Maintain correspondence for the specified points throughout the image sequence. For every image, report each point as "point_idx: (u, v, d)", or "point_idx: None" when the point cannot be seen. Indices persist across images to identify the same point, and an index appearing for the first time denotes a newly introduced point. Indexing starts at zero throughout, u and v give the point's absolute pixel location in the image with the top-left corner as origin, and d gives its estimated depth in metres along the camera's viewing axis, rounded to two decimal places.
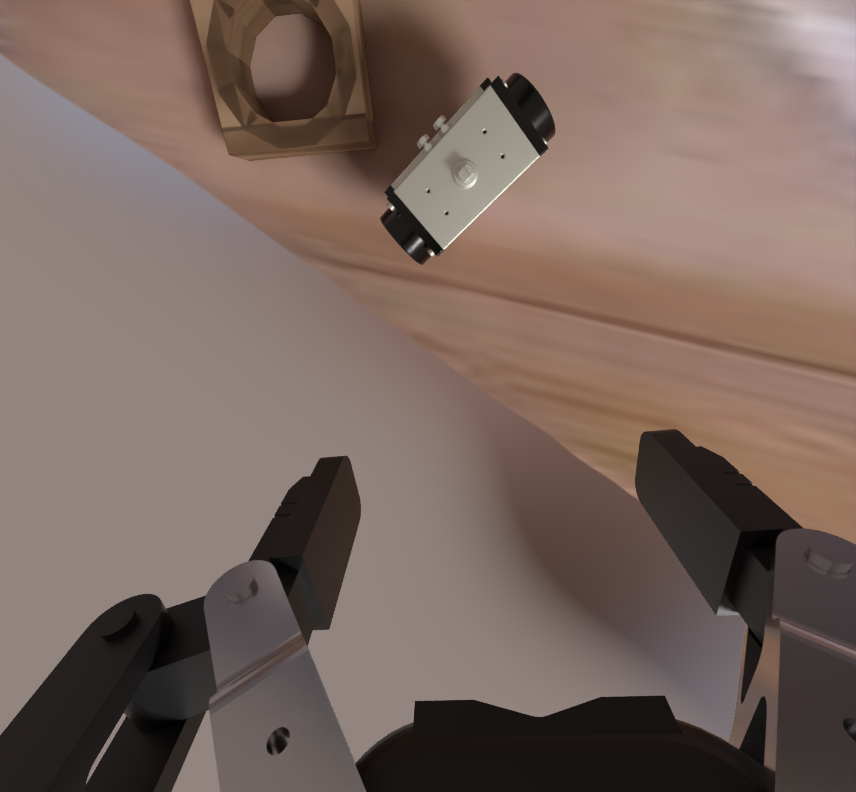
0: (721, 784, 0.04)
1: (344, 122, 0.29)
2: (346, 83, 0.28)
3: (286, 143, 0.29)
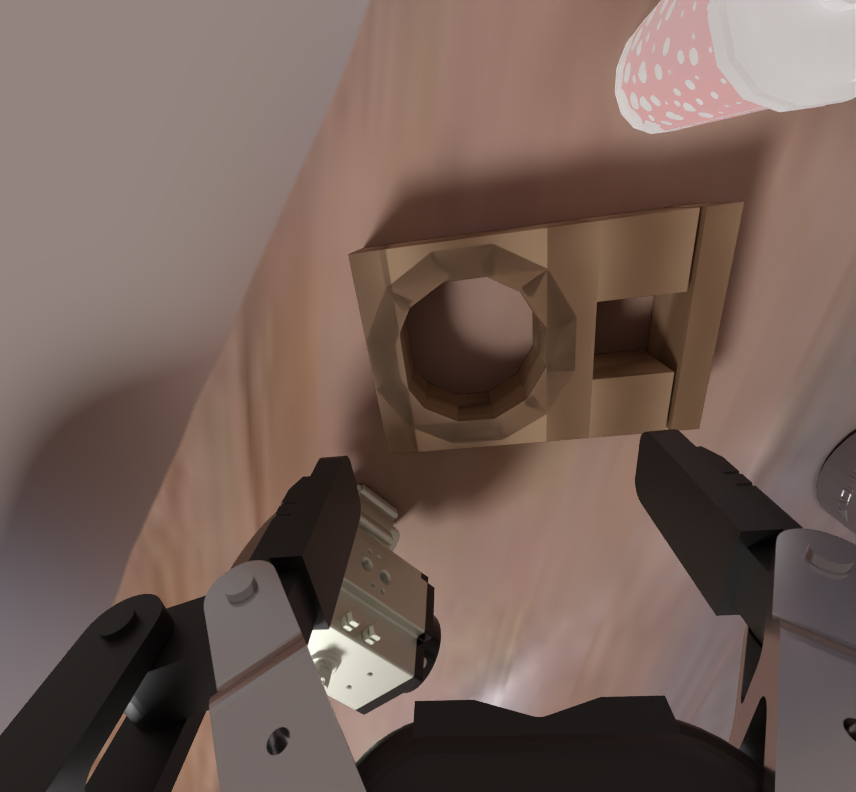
0: (721, 784, 0.04)
1: (406, 427, 0.21)
2: (448, 432, 0.21)
3: (374, 350, 0.20)
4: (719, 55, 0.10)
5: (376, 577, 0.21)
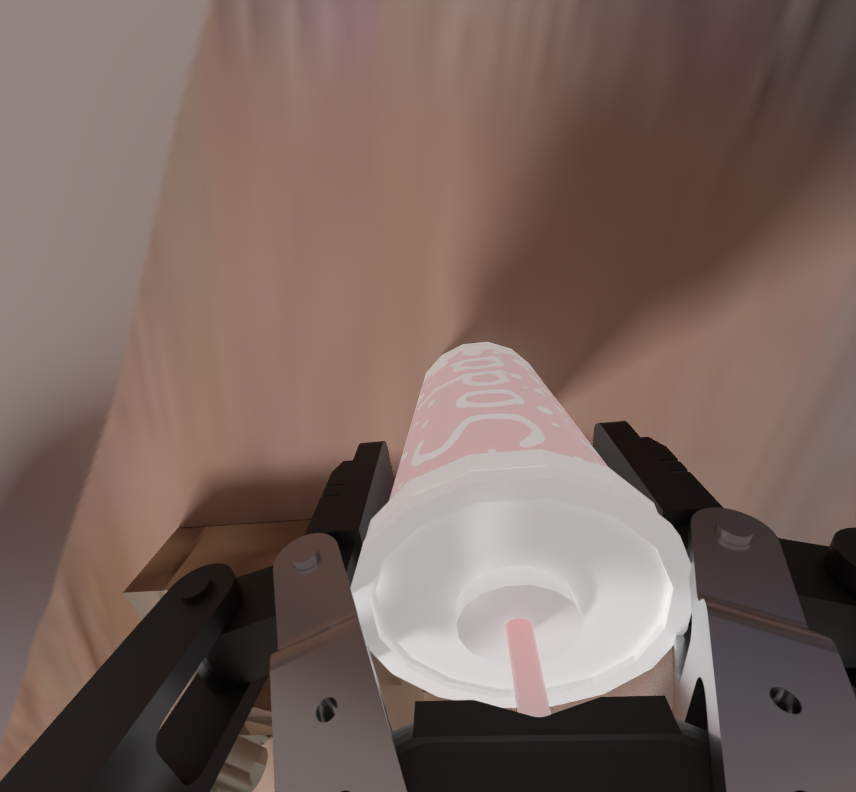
0: (676, 779, 0.04)
1: None
2: None
3: None
4: None
5: None
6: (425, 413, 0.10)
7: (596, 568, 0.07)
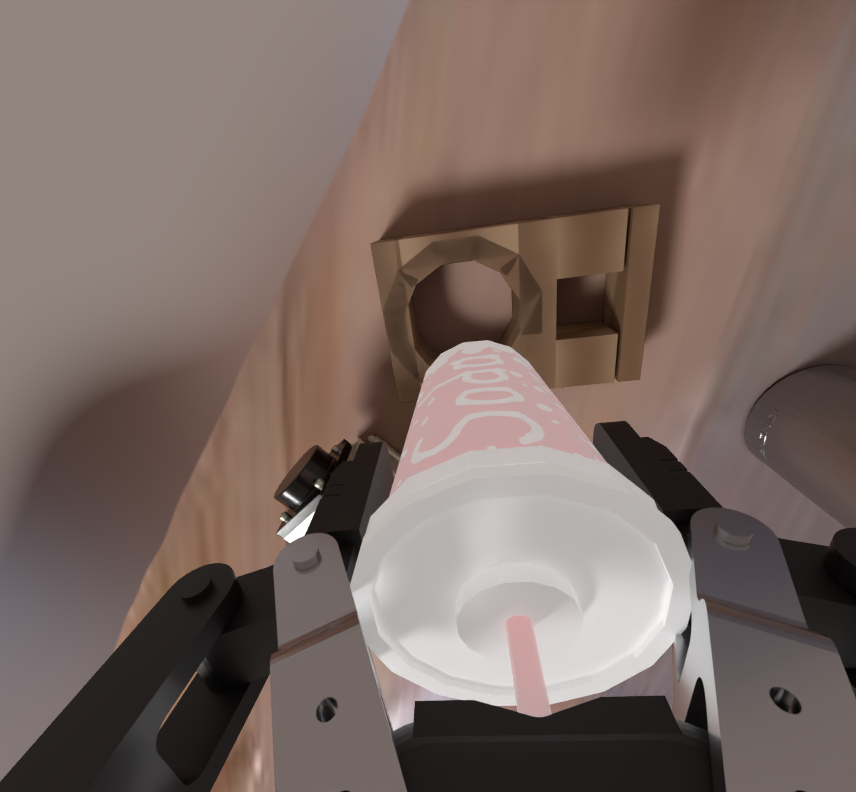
0: (676, 779, 0.04)
1: (413, 380, 0.27)
2: None
3: (389, 318, 0.26)
4: None
5: None
6: (425, 411, 0.10)
7: (596, 565, 0.07)
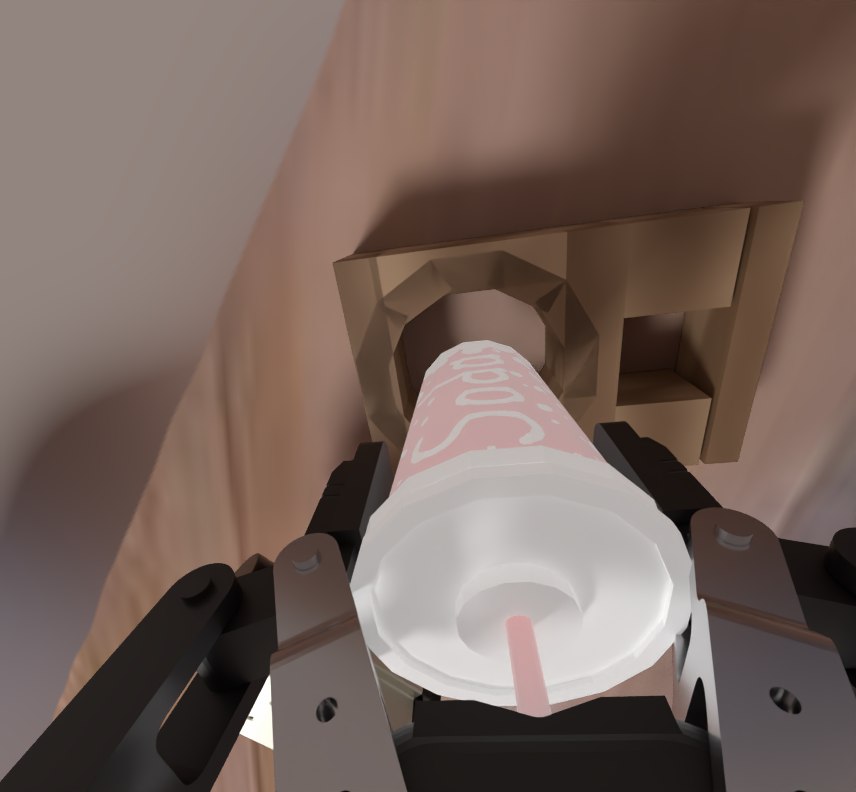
0: (676, 779, 0.04)
1: None
2: None
3: (364, 372, 0.17)
4: None
5: None
6: (425, 411, 0.10)
7: (596, 565, 0.07)
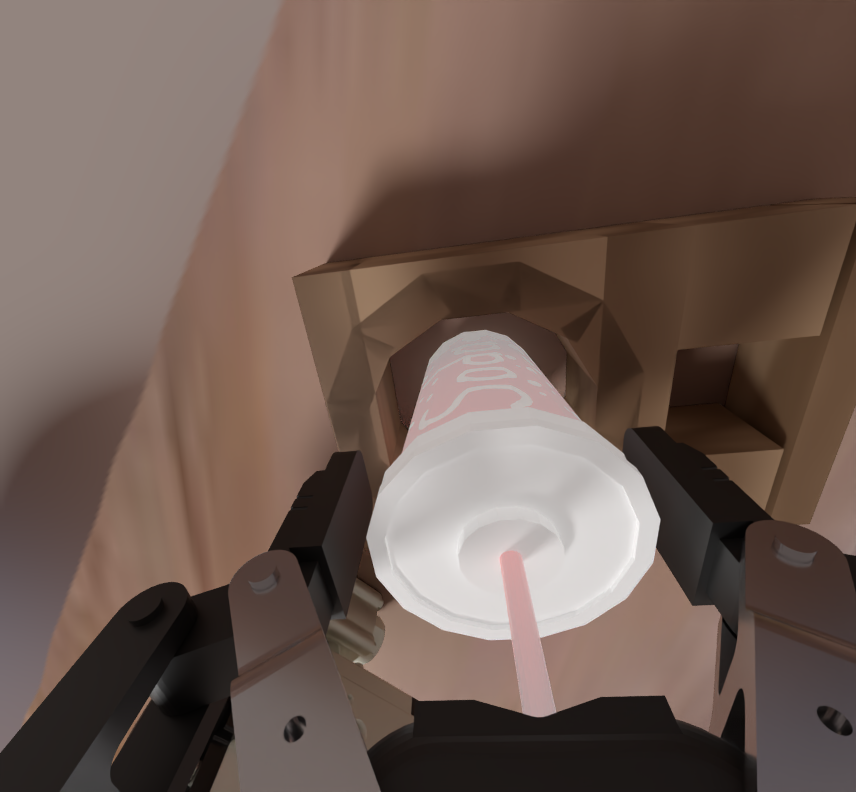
0: (705, 781, 0.04)
1: None
2: None
3: (339, 416, 0.13)
4: None
5: None
6: (429, 390, 0.11)
7: (575, 507, 0.08)
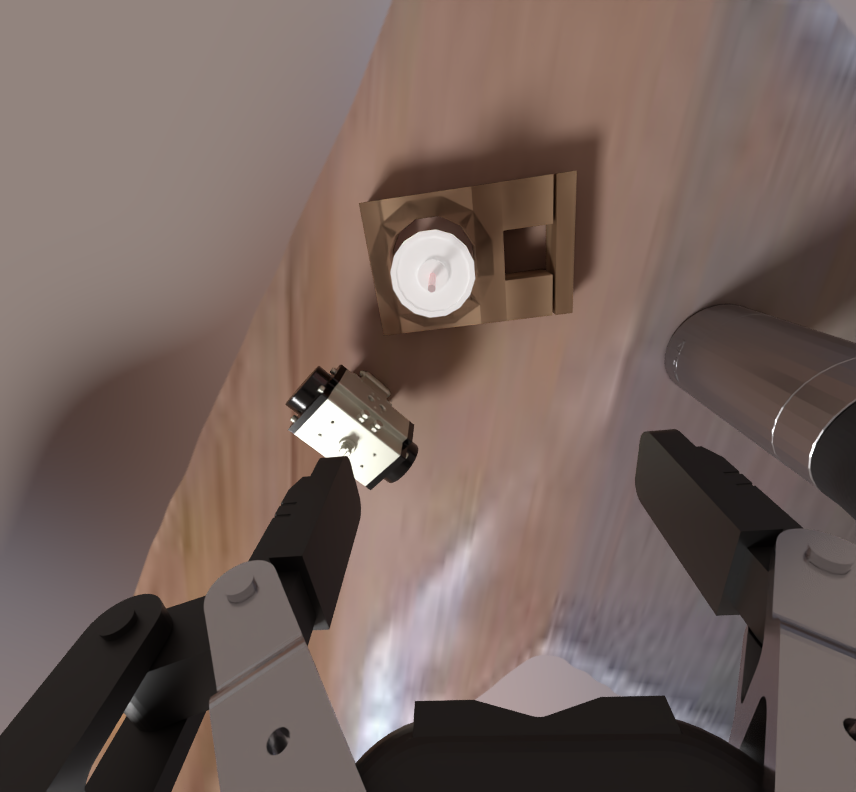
0: (721, 784, 0.04)
1: (394, 316, 0.35)
2: (420, 318, 0.35)
3: (374, 263, 0.33)
4: None
5: (377, 405, 0.34)
6: None
7: (450, 259, 0.27)
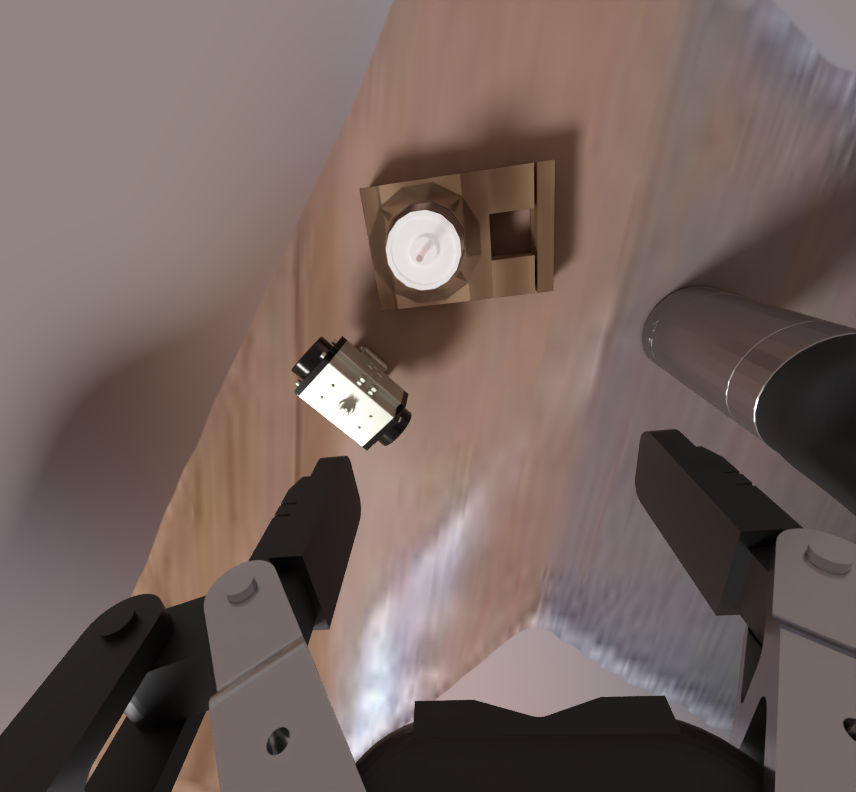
0: (721, 784, 0.04)
1: (391, 293, 0.38)
2: (414, 295, 0.38)
3: (373, 244, 0.36)
4: None
5: (374, 373, 0.37)
6: None
7: (439, 237, 0.31)
